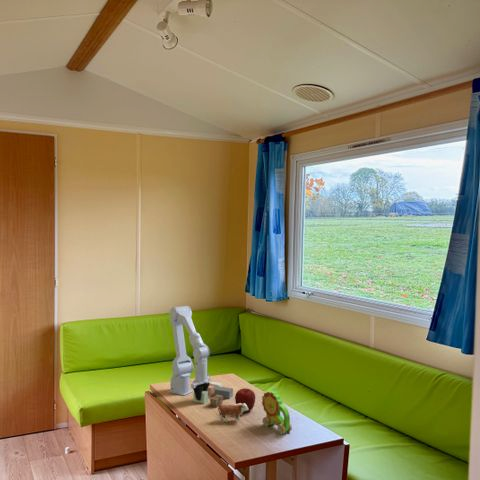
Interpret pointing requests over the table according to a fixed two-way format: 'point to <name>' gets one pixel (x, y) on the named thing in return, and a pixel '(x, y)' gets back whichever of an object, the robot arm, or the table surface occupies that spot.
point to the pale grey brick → (215, 384)
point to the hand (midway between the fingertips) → (200, 398)
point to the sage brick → (202, 397)
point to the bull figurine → (232, 410)
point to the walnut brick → (216, 401)
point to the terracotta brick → (210, 390)
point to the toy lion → (275, 412)
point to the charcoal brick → (224, 392)
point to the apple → (245, 398)
